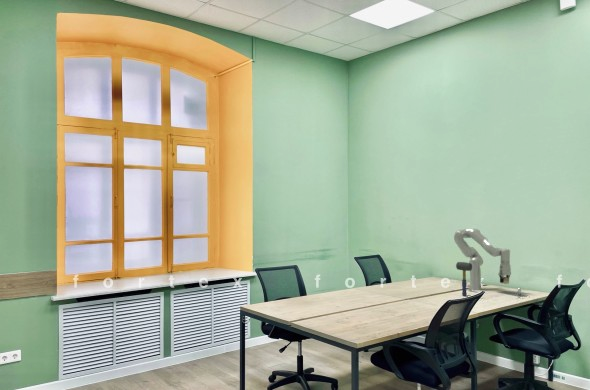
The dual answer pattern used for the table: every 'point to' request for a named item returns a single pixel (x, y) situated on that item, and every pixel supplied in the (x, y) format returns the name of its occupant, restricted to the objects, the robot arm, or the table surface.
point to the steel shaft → (519, 291)
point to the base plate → (512, 293)
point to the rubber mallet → (464, 274)
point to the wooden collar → (505, 280)
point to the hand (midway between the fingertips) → (504, 281)
